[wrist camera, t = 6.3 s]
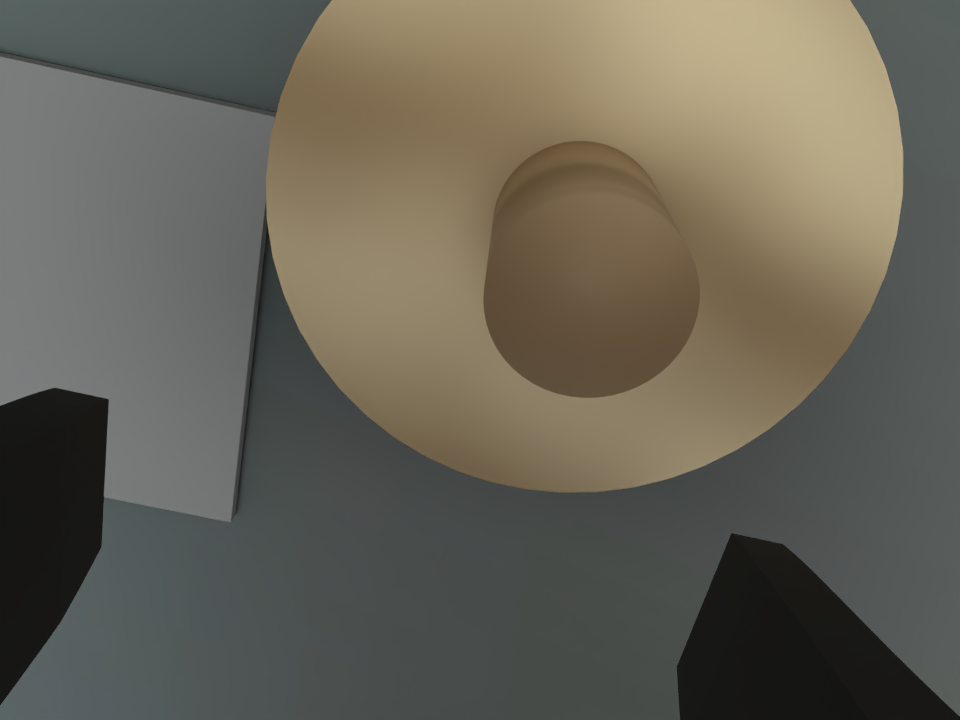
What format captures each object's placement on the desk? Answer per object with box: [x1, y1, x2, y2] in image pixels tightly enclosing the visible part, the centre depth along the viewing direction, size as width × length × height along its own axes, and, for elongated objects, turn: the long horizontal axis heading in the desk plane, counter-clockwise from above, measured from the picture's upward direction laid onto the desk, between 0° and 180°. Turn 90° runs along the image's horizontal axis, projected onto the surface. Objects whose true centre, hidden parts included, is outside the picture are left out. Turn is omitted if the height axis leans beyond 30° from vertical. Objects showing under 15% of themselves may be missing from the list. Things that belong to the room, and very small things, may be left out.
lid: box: [266, 0, 903, 493], centre depth 14 cm, size 10×10×4 cm
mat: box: [0, 52, 276, 523], centre depth 20 cm, size 10×10×1 cm
